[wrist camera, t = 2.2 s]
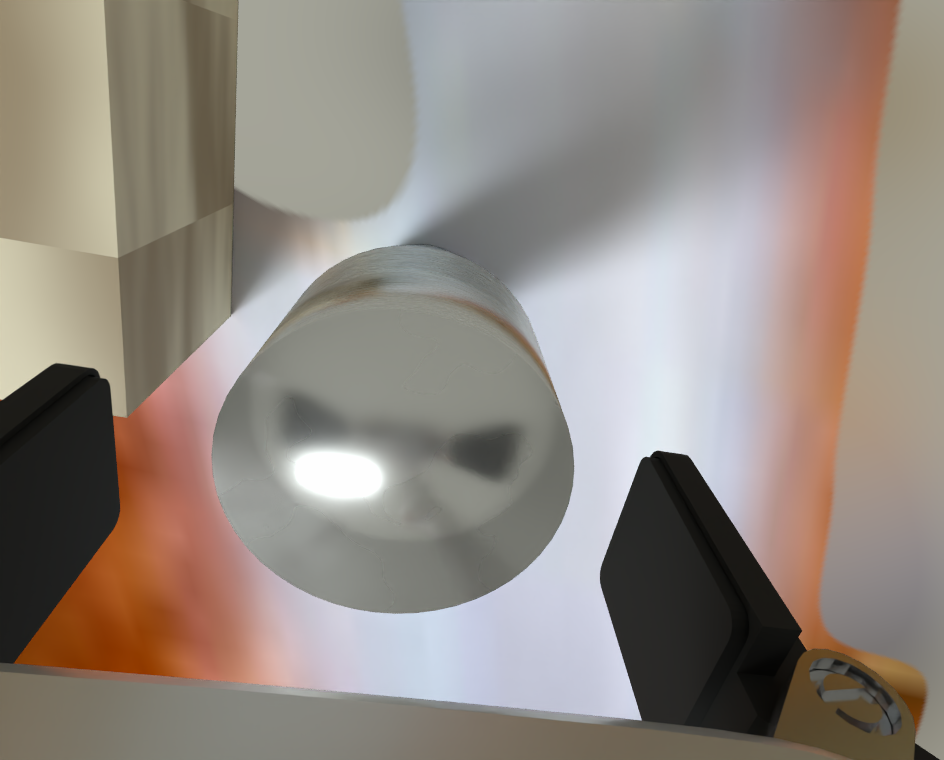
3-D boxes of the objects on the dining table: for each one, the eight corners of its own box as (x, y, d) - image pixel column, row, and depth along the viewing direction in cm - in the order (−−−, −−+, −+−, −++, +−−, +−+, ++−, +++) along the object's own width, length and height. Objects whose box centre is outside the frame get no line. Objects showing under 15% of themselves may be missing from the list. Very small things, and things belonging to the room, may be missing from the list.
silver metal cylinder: (534, 221, 22) (618, 346, 11) (494, 394, 24) (528, 629, 14) (338, 184, 21) (213, 277, 10) (320, 366, 24) (209, 593, 13)
